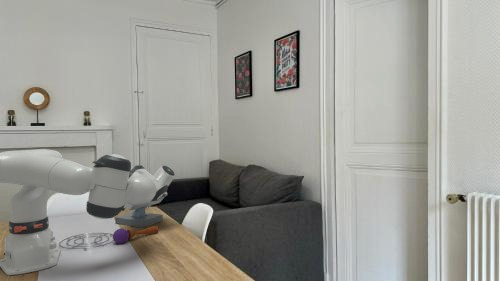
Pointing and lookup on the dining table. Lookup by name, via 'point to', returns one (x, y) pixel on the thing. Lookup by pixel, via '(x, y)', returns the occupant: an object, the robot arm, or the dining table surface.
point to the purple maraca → (131, 234)
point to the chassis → (138, 219)
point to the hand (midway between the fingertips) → (138, 210)
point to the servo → (139, 212)
